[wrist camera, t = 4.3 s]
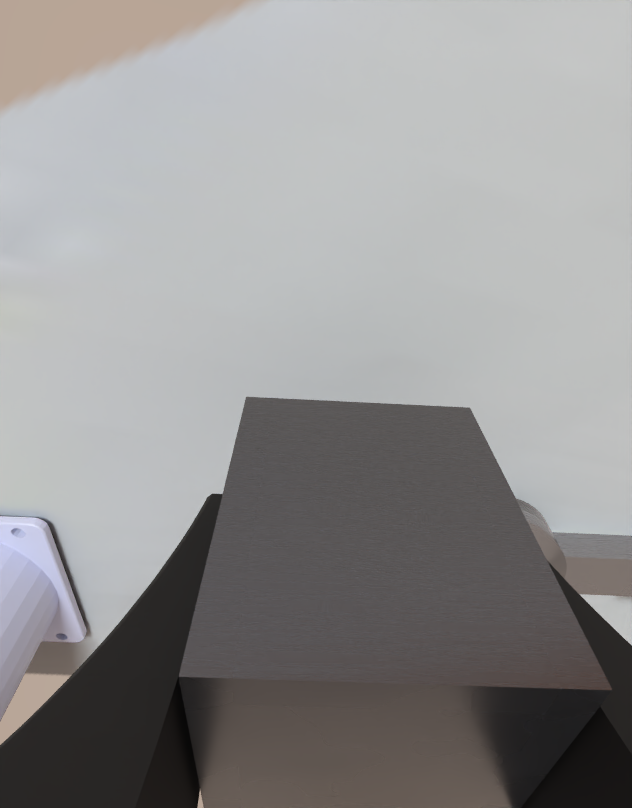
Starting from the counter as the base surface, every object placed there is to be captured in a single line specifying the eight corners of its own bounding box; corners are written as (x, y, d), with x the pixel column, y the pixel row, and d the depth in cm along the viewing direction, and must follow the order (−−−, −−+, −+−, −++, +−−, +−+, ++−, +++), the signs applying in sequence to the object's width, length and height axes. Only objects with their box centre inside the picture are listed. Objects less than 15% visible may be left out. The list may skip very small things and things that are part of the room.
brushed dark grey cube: (250, 549, 13) (208, 830, 8) (246, 396, 10) (178, 676, 5) (428, 556, 13) (497, 837, 8) (469, 408, 10) (612, 690, 5)
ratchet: (390, 590, 21) (405, 686, 17) (413, 490, 18) (436, 585, 14) (719, 603, 21) (797, 700, 18) (800, 508, 18) (915, 604, 14)
